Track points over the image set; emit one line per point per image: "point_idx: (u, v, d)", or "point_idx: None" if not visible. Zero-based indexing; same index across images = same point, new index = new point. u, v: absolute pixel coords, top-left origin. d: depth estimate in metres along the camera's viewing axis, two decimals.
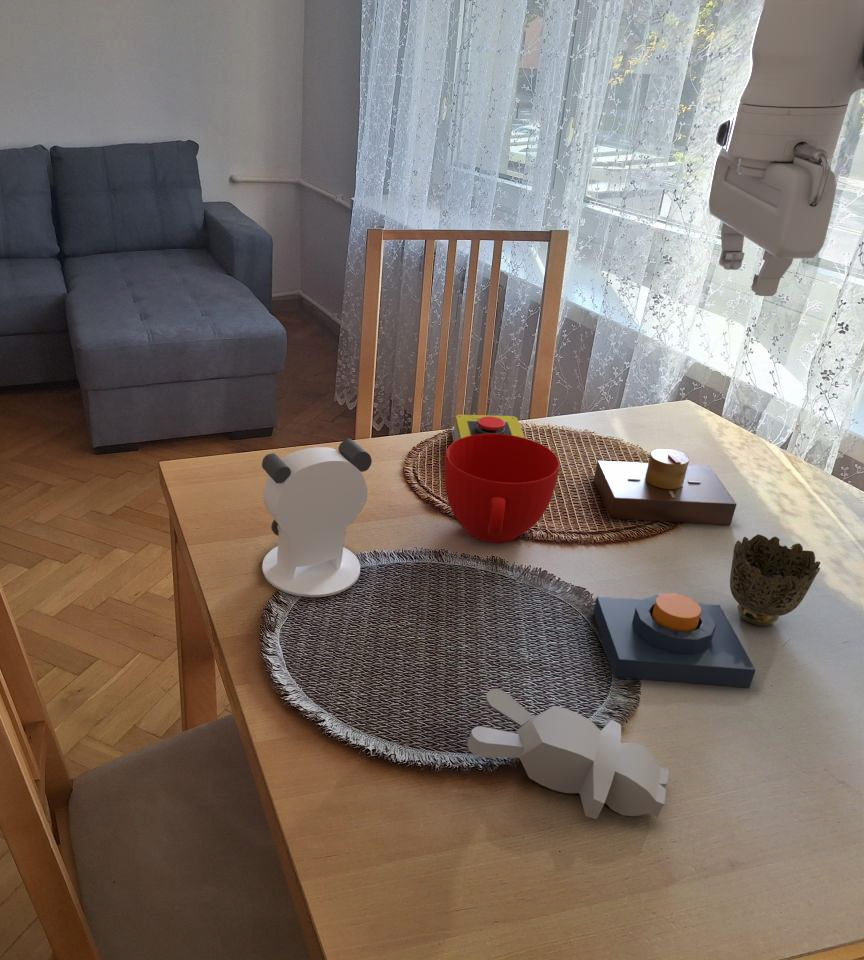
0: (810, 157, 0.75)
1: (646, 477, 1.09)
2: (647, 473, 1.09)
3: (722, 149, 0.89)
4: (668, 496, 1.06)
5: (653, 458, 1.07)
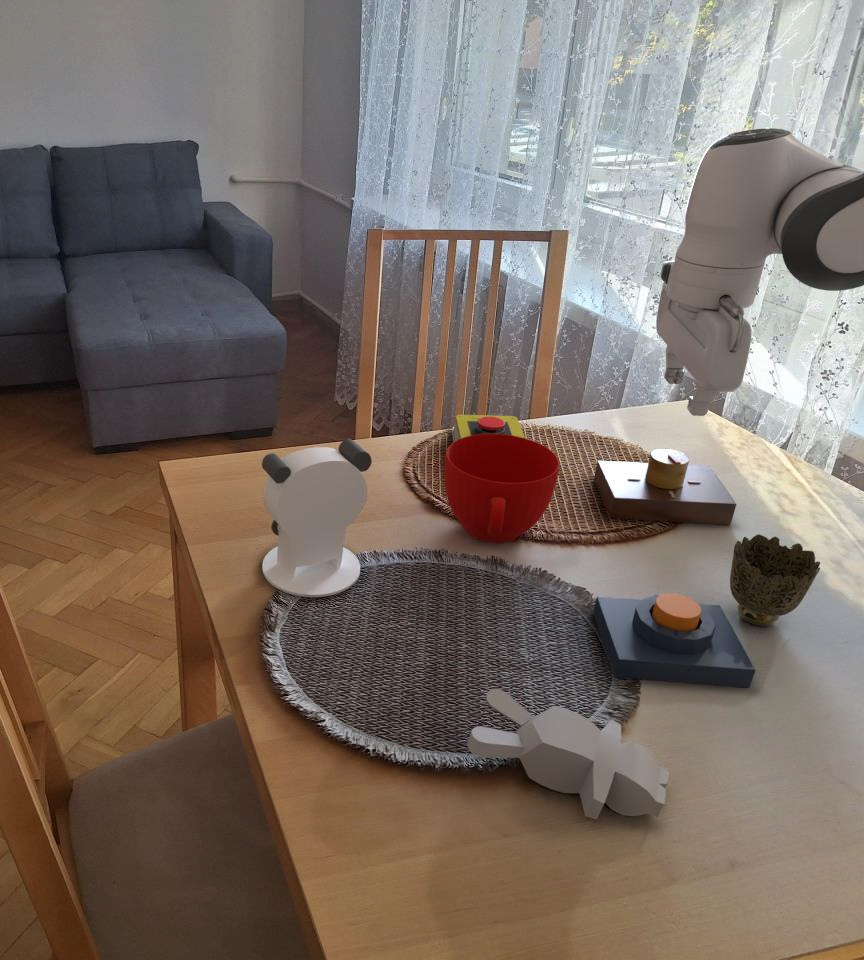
0: (730, 312, 0.90)
1: (646, 477, 1.09)
2: (647, 473, 1.09)
3: None
4: (668, 496, 1.06)
5: (653, 458, 1.07)
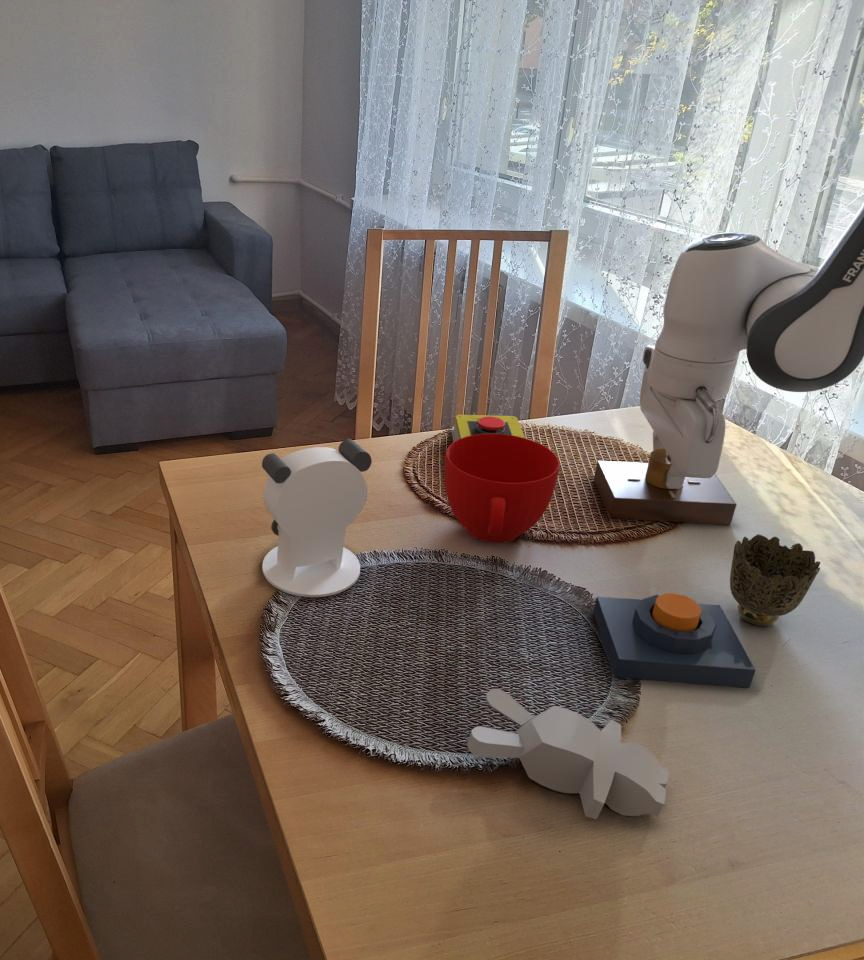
0: (705, 405, 0.96)
1: (646, 477, 1.09)
2: (647, 473, 1.09)
3: None
4: (668, 496, 1.06)
5: (653, 458, 1.07)
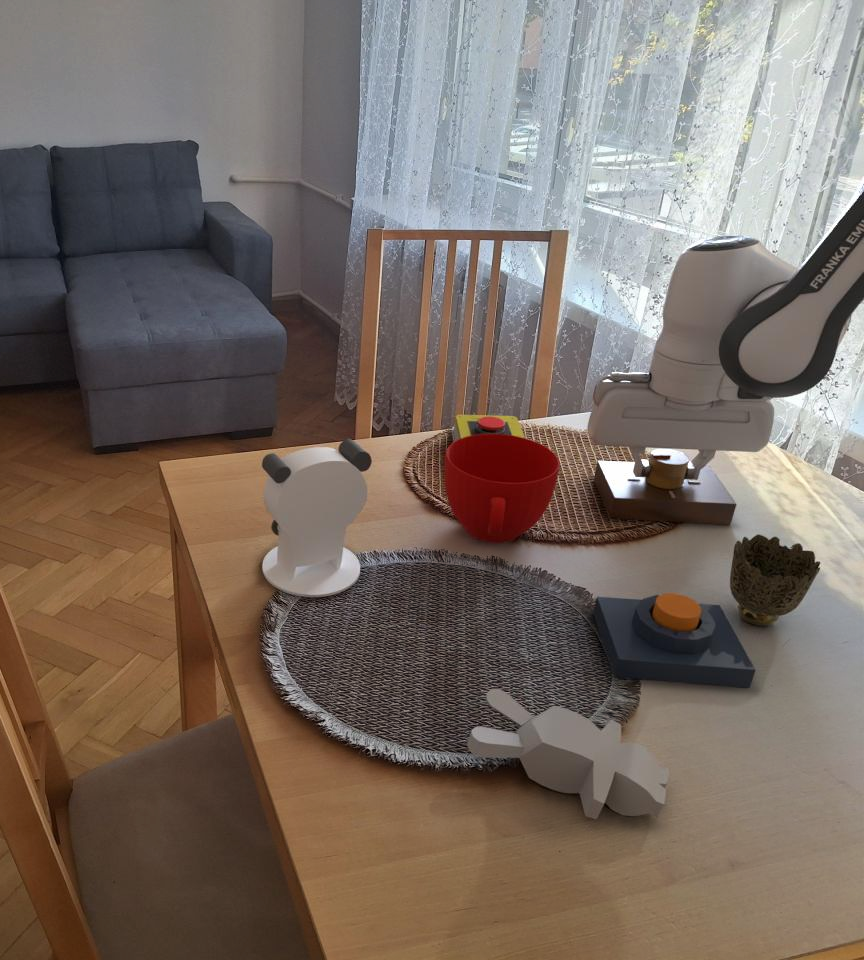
0: None
1: None
2: None
3: None
4: (668, 496, 1.06)
5: (660, 449, 1.09)
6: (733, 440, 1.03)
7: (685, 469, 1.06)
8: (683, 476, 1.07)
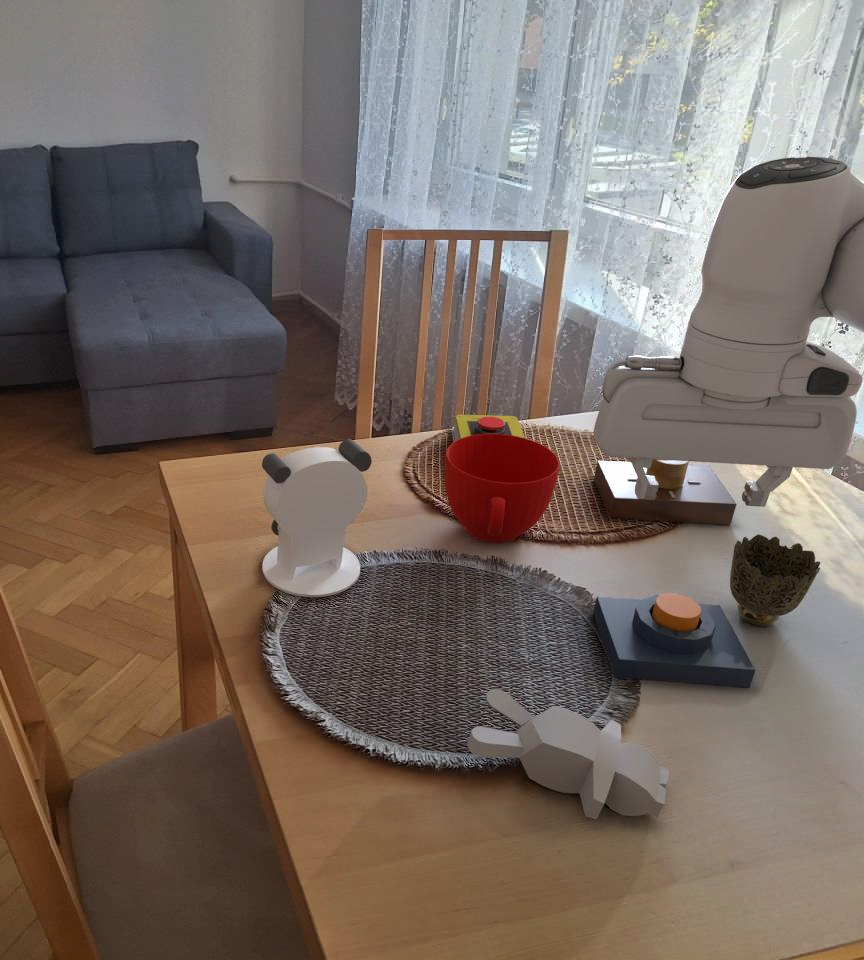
0: None
1: None
2: None
3: None
4: (668, 496, 1.06)
5: None
6: (796, 452, 0.75)
7: (685, 469, 1.06)
8: (683, 476, 1.07)
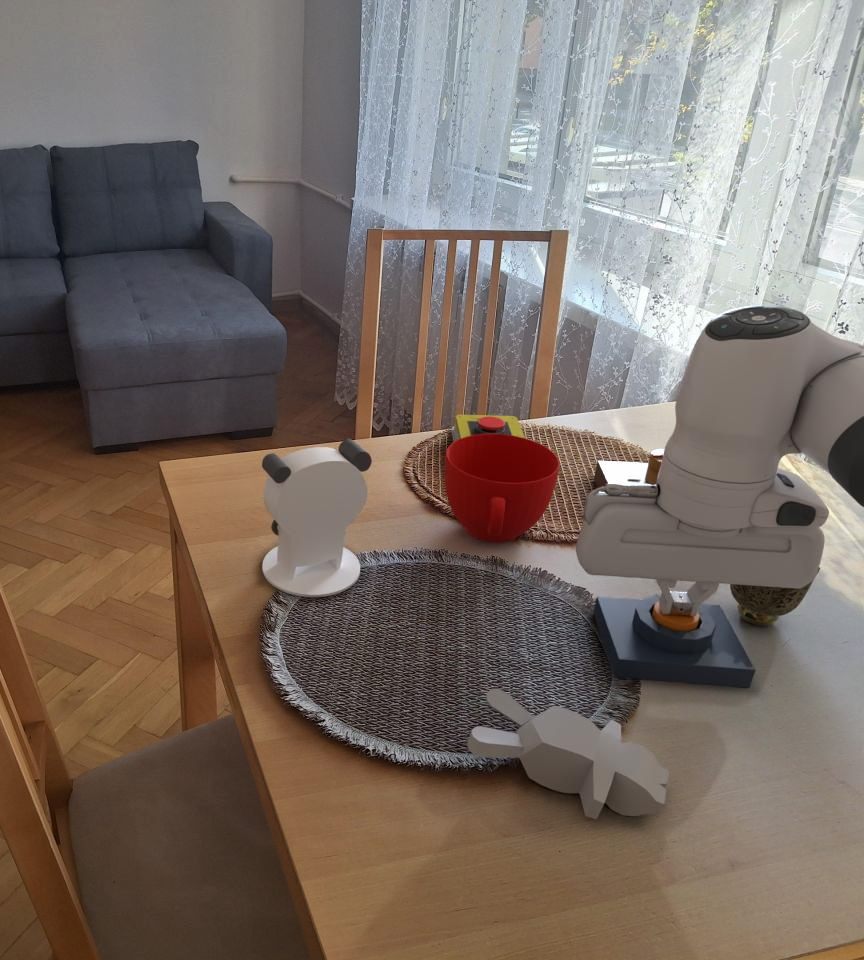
0: None
1: None
2: None
3: None
4: None
5: (660, 449, 1.09)
6: (768, 574, 0.78)
7: None
8: None
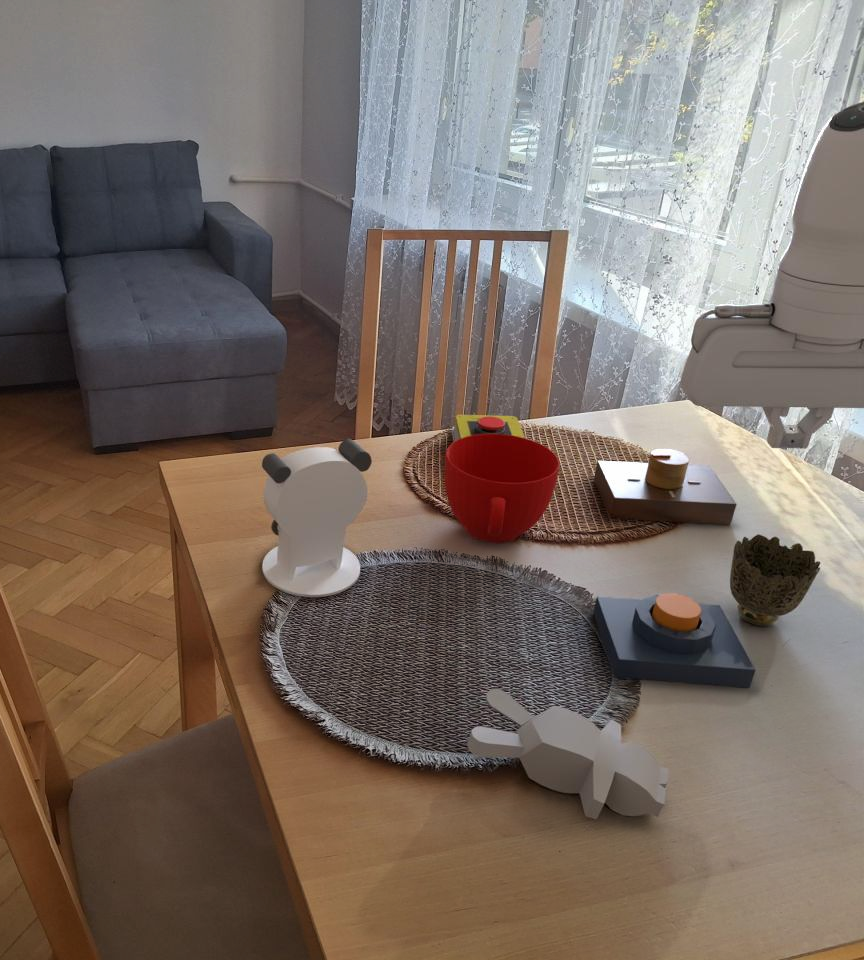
0: None
1: None
2: None
3: None
4: (668, 496, 1.06)
5: (660, 449, 1.09)
6: None
7: (685, 469, 1.06)
8: (683, 476, 1.07)
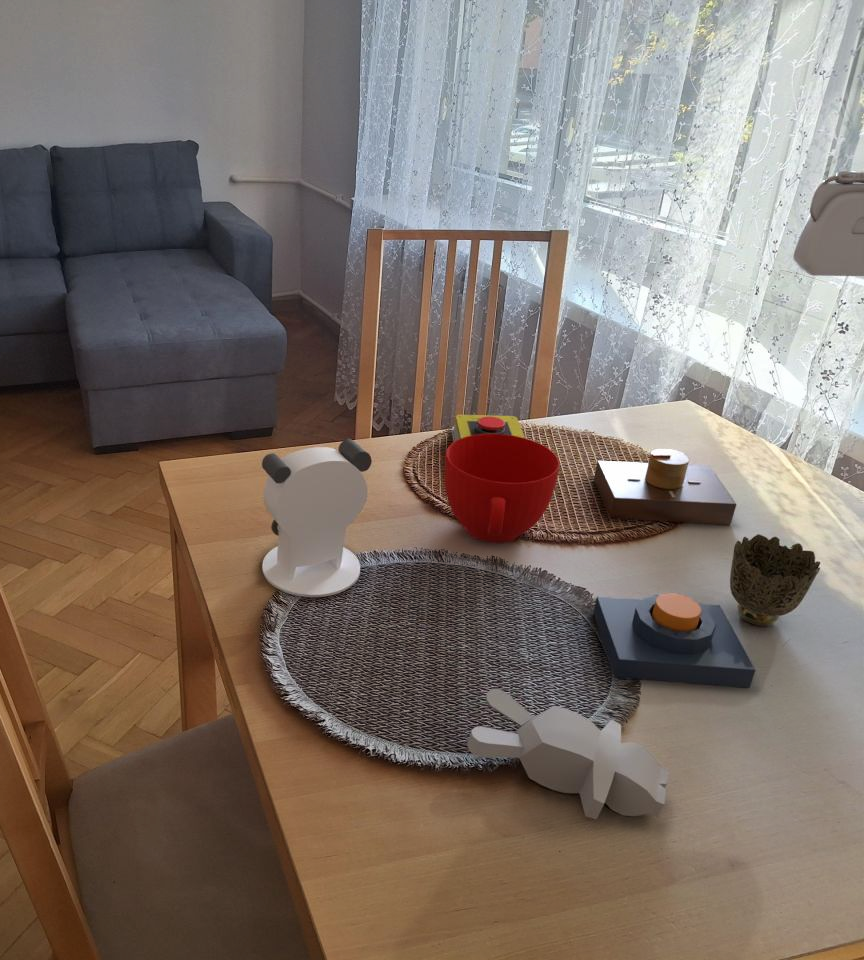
0: None
1: None
2: None
3: None
4: (668, 496, 1.06)
5: (660, 449, 1.09)
6: None
7: (685, 469, 1.06)
8: (683, 476, 1.07)
